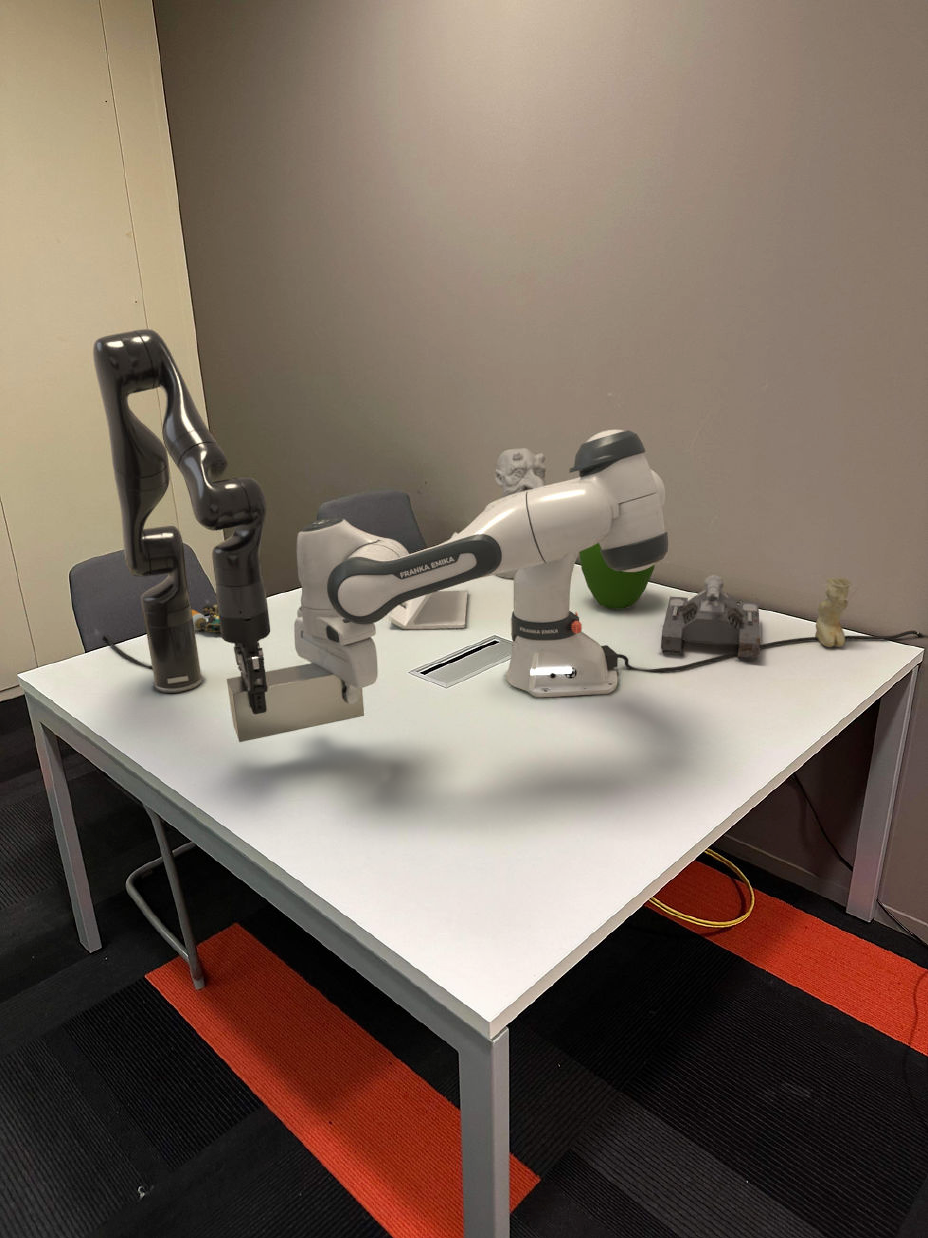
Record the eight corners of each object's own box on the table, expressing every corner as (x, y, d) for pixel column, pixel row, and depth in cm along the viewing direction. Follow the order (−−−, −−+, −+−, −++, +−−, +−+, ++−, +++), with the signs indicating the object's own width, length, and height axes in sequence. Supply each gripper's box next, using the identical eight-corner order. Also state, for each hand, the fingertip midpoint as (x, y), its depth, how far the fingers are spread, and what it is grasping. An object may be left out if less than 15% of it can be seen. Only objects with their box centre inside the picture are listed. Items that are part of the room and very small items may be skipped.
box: (354, 701, 149) (350, 655, 145) (364, 715, 143) (360, 669, 140) (233, 726, 141) (226, 678, 138) (239, 742, 136) (232, 693, 133)
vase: (599, 587, 227) (601, 497, 218) (668, 600, 216) (673, 505, 208) (562, 608, 212) (564, 513, 204) (634, 623, 202) (639, 523, 193)
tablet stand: (467, 593, 225) (465, 531, 219) (465, 628, 202) (462, 559, 196) (399, 594, 226) (395, 532, 220) (388, 629, 203) (384, 560, 197)
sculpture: (821, 649, 184) (830, 583, 179) (808, 637, 191) (816, 573, 185) (848, 649, 184) (858, 582, 179) (834, 636, 191) (843, 572, 185)
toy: (668, 615, 206) (672, 556, 200) (756, 622, 200) (762, 561, 195) (660, 656, 183) (663, 590, 178) (758, 664, 177) (765, 596, 172)
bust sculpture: (503, 593, 225) (502, 460, 212) (483, 567, 247) (480, 445, 234) (562, 587, 228) (563, 456, 215) (536, 562, 250) (536, 441, 237)
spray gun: (217, 611, 220) (264, 620, 214) (170, 629, 206) (220, 640, 200) (216, 595, 219) (263, 604, 213) (169, 612, 204) (219, 622, 198)
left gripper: (211, 597, 137) (224, 689, 143) (225, 626, 125) (238, 725, 131) (258, 590, 140) (269, 681, 146) (276, 618, 127) (287, 715, 133)
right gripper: (281, 606, 144) (289, 681, 149) (347, 639, 129) (354, 720, 134) (313, 597, 148) (320, 670, 153) (381, 628, 133) (387, 707, 138)
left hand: (254, 701), depth 138 cm, fingers open, 8 cm apart
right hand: (337, 694), depth 143 cm, fingers closed on box, 7 cm apart
